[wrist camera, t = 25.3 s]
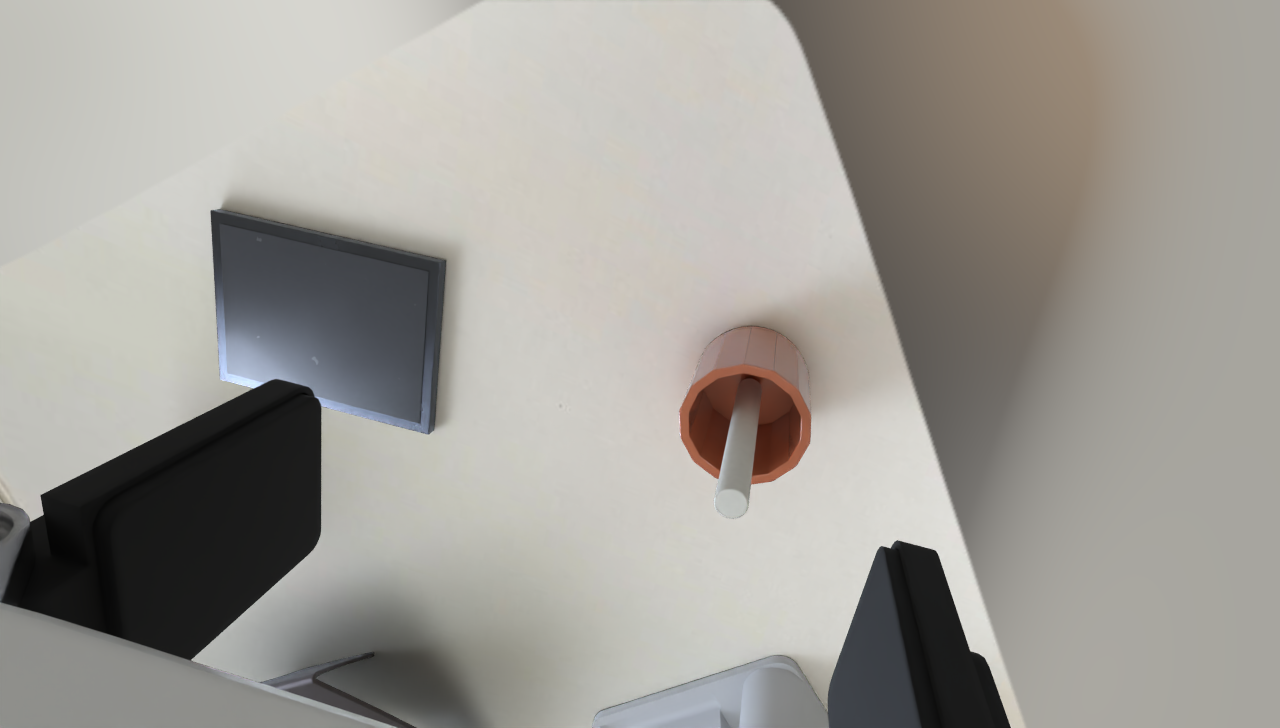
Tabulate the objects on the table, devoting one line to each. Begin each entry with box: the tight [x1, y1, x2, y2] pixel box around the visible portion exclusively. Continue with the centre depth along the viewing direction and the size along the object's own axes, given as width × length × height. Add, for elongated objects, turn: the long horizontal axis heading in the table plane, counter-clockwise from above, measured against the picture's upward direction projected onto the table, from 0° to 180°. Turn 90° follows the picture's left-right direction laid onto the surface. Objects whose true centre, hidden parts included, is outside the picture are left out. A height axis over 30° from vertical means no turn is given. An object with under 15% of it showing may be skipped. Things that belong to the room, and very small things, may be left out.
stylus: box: [714, 378, 762, 519], centre depth 35 cm, size 1×1×14 cm
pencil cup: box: [679, 326, 811, 484], centre depth 38 cm, size 7×7×7 cm
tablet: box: [211, 209, 446, 434], centre depth 46 cm, size 12×16×1 cm
